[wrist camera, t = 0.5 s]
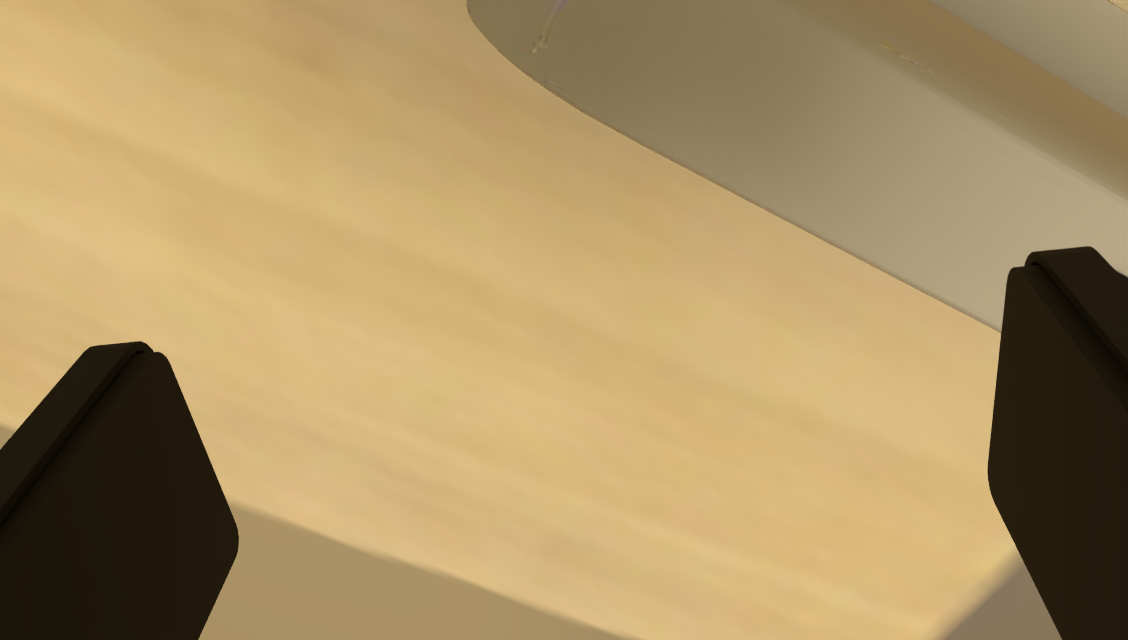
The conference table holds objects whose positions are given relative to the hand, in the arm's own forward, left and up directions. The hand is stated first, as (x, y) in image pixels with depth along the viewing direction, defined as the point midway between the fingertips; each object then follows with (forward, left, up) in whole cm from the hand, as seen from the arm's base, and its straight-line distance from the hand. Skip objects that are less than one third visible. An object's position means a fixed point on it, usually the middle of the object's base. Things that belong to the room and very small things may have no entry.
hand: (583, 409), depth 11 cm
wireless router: (-5, +10, -29) cm, 30 cm away
